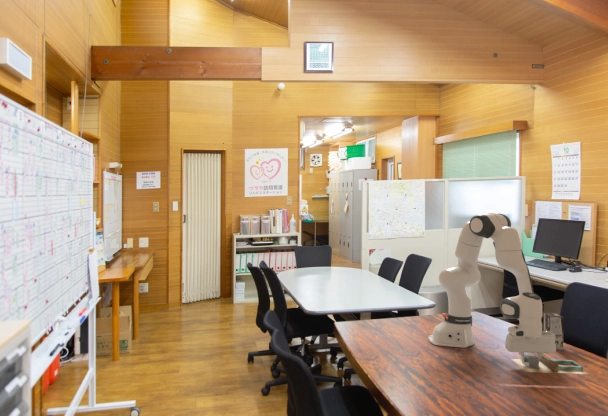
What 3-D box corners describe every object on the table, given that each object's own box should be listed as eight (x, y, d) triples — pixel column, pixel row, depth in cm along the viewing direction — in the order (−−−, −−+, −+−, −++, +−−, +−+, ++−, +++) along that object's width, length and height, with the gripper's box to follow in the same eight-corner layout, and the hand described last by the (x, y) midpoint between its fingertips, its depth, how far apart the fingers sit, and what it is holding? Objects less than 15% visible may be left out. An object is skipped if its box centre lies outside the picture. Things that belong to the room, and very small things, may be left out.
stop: (529, 368, 184) (529, 358, 184) (522, 362, 191) (522, 352, 191) (538, 368, 184) (538, 358, 184) (531, 362, 191) (531, 352, 191)
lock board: (524, 373, 180) (524, 364, 180) (510, 360, 195) (510, 351, 195) (589, 376, 178) (589, 366, 178) (570, 362, 193) (570, 353, 193)
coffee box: (563, 350, 209) (564, 317, 209) (549, 349, 211) (549, 316, 210) (556, 344, 218) (557, 312, 218) (543, 343, 219) (543, 311, 219)
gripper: (551, 329, 189) (551, 360, 190) (504, 327, 191) (503, 358, 191) (559, 333, 183) (558, 365, 183) (509, 332, 185) (509, 364, 185)
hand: (530, 362), depth 187 cm, fingers closed on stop, 4 cm apart
